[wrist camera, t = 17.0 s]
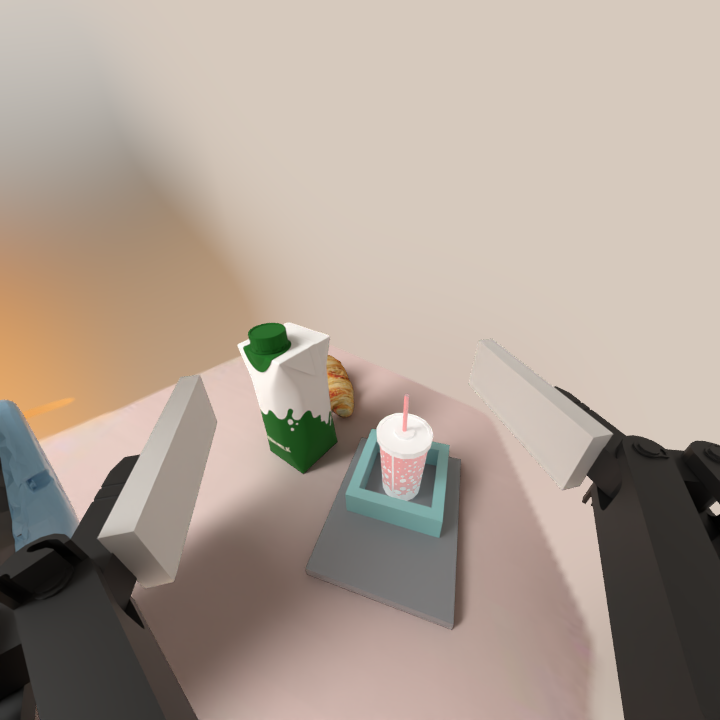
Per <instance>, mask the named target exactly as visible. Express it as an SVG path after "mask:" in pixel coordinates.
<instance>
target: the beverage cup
mask: <svg viewBox="0 0 720 720" xmlns="http://www.w3.org/2000/svg"><path fill="white" fill-rule="evenodd" d="M408 406H409V394H405V395H404V411H403V413H395V414H392V415H389V416H386V417H385V418H384V419H382V420H381V421H380V422H379V424H378V426H377V428H376V431H377V442H378V444H379V445H380V455H381V468H382V481H383V488H384V490H385V492H386V494H387V495H389V496H391V497H394V498H398V499H402V500H405V501H408V500H410V499H412V498H414V497H415V496H416V495H417V494H418V491H419V488H420V483H421V479H422V474H423V470H424V465H425V461H426V456H427V452H428V450H429V449H430V447H431V444H432V439H433V432H432V429H431V427H430V425H429V424H428V423H427V422H426V421H425V420H424V419H422V418H420V417H418V416H416V415H413V414H408Z"/></svg>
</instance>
